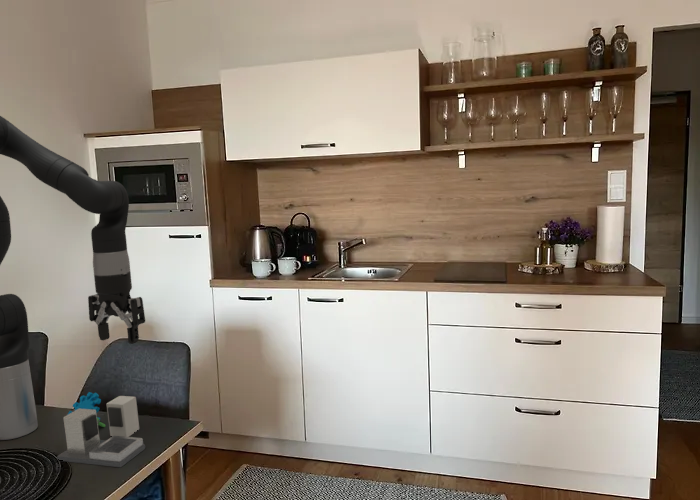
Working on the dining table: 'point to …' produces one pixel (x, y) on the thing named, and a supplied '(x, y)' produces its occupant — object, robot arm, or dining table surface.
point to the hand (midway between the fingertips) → (119, 341)
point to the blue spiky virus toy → (89, 404)
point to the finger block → (122, 416)
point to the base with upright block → (96, 442)
